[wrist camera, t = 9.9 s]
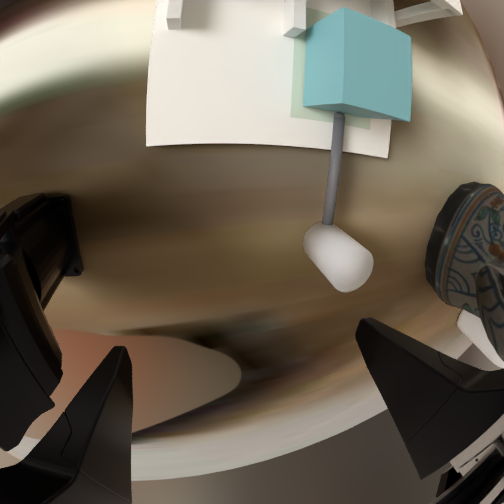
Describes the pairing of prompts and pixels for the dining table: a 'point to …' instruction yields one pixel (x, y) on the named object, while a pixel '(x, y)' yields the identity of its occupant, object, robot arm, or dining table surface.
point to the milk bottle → (478, 335)
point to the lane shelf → (254, 73)
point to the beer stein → (471, 256)
